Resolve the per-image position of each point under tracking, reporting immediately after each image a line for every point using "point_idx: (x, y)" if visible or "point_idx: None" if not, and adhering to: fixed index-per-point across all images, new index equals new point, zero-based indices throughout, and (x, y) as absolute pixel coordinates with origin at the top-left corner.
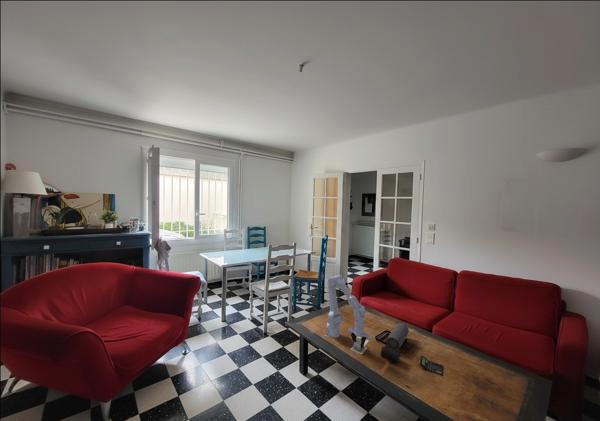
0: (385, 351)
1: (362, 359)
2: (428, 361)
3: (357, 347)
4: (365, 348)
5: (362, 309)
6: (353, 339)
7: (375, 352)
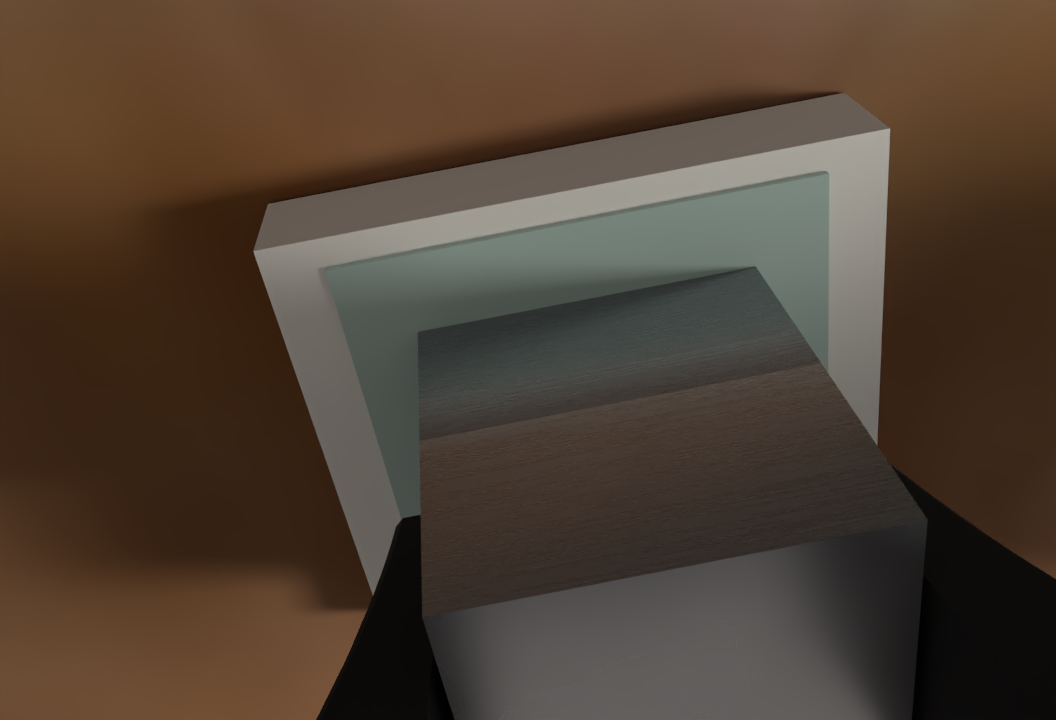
0: None
1: (115, 59)
2: None
3: (593, 392)
4: None
5: None
6: (1048, 637)
7: (145, 714)
